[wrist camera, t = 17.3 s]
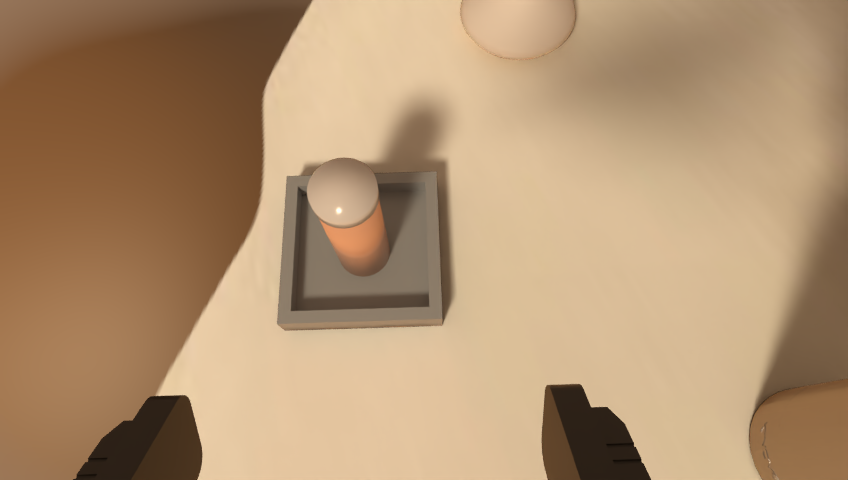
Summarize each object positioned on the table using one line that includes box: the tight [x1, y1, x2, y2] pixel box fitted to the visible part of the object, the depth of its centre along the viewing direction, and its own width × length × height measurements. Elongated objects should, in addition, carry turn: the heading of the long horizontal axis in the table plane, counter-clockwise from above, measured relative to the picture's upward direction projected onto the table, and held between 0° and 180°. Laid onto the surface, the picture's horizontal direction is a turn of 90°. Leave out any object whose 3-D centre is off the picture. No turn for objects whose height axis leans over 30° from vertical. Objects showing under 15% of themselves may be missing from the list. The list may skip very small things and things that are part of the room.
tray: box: [277, 171, 443, 331], centre depth 48 cm, size 13×13×2 cm
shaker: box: [307, 158, 390, 277], centre depth 42 cm, size 5×5×12 cm
